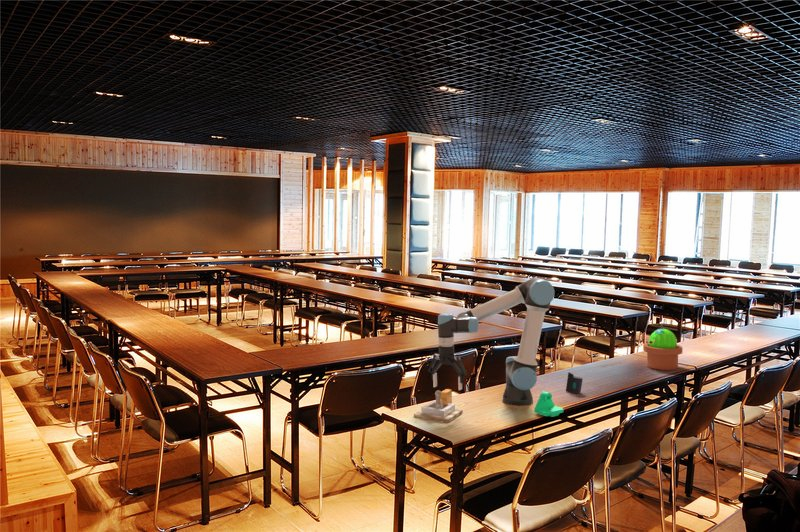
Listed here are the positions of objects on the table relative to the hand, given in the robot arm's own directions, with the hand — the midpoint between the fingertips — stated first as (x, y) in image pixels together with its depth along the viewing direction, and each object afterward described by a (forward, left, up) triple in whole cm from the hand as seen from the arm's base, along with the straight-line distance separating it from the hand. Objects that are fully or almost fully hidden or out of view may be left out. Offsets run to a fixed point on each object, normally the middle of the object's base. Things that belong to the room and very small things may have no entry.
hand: (447, 388), depth 287 cm
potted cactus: (-141, +82, -11) cm, 163 cm away
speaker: (-59, +47, -11) cm, 76 cm away
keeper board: (+10, 0, -11) cm, 14 cm away
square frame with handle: (+7, 0, -9) cm, 11 cm away
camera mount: (-16, +46, -11) cm, 50 cm away
